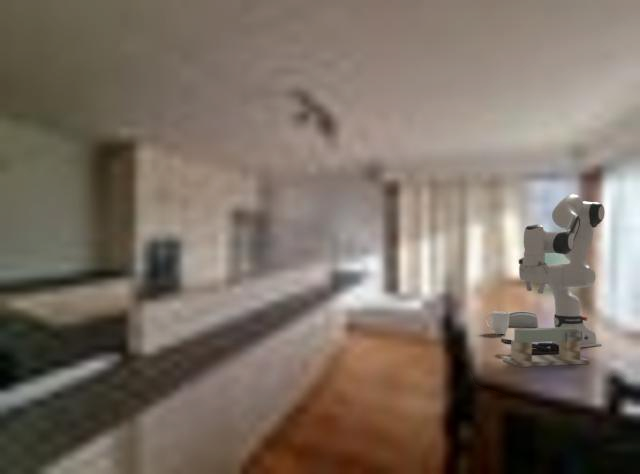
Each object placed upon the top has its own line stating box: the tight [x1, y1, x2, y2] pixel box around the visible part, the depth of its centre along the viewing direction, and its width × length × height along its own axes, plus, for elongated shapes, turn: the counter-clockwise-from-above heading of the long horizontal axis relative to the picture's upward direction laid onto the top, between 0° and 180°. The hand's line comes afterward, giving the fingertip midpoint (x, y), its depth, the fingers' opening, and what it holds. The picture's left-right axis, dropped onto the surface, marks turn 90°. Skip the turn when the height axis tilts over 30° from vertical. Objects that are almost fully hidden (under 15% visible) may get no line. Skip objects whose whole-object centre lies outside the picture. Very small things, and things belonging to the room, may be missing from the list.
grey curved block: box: [508, 310, 539, 328], centre depth 330 cm, size 17×5×10 cm, turn 76°
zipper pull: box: [500, 338, 559, 356], centre depth 255 cm, size 9×7×25 cm
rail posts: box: [503, 330, 590, 368], centre depth 241 cm, size 32×12×13 cm, turn 99°
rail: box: [513, 327, 577, 343], centre depth 241 cm, size 26×4×5 cm, turn 99°
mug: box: [485, 310, 510, 335], centre depth 306 cm, size 12×9×12 cm
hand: (534, 292), depth 255 cm, fingers open, 8 cm apart
